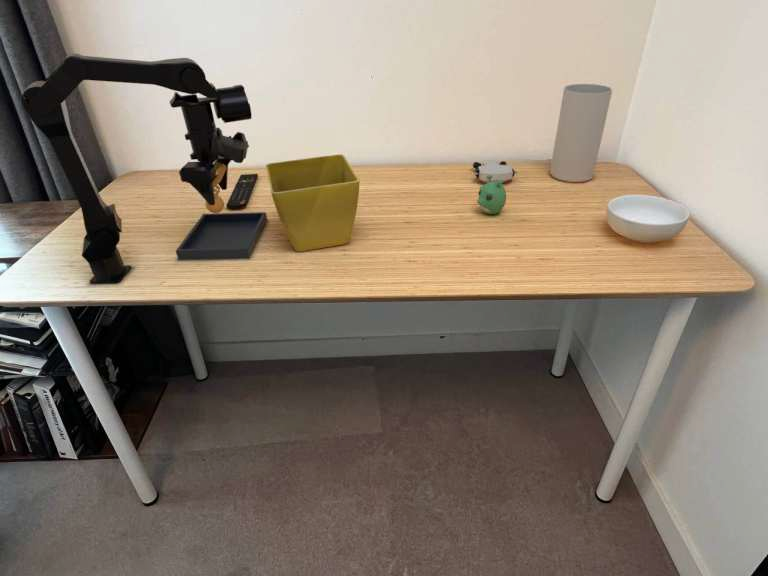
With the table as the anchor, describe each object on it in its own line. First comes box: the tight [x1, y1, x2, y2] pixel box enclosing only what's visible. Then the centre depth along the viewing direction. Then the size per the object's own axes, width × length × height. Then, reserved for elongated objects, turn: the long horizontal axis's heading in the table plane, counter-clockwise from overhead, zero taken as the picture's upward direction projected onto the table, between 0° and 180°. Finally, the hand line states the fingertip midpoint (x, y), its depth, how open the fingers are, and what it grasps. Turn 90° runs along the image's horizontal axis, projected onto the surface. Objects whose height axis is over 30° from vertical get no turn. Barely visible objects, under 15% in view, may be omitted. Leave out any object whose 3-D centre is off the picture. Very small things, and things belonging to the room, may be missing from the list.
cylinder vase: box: [549, 83, 613, 183], centre depth 139 cm, size 12×12×25 cm
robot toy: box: [470, 158, 519, 184], centre depth 145 cm, size 12×4×15 cm
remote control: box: [225, 173, 259, 211], centre depth 142 cm, size 5×24×1 cm, turn 4°
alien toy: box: [476, 175, 507, 215], centre depth 123 cm, size 7×8×10 cm
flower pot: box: [265, 153, 360, 253], centre depth 113 cm, size 19×19×17 cm
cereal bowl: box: [606, 194, 690, 244], centre depth 111 cm, size 17×17×7 cm
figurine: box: [205, 162, 226, 214], centre depth 106 cm, size 8×6×12 cm
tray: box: [175, 211, 268, 261], centre depth 118 cm, size 20×17×2 cm
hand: (218, 197), depth 107 cm, fingers closed on figurine, 8 cm apart
